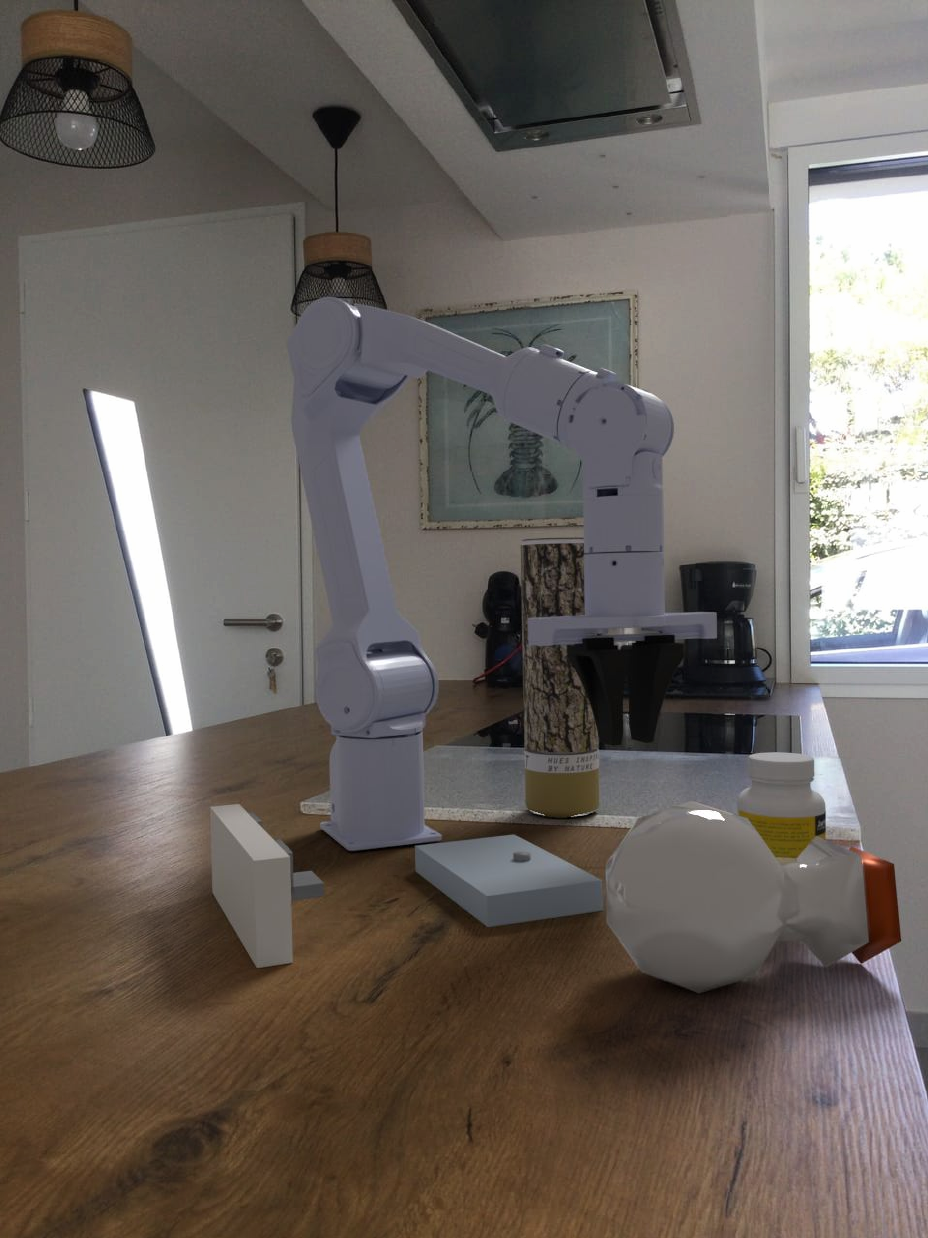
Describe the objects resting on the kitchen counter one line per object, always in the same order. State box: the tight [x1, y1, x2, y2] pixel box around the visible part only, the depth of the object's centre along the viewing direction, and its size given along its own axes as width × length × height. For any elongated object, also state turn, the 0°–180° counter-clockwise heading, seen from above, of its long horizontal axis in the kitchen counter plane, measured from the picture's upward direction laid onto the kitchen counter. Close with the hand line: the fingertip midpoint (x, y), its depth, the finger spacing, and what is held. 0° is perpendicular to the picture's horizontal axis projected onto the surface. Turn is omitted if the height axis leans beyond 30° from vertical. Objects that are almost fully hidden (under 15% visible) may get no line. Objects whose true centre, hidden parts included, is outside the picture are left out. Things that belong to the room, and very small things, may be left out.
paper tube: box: [520, 537, 600, 819], centre depth 97 cm, size 7×7×25 cm
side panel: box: [209, 803, 325, 969], centre depth 67 cm, size 16×4×6 cm, turn 22°
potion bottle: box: [605, 800, 902, 994], centre depth 56 cm, size 9×10×15 cm
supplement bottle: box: [736, 751, 827, 858], centre depth 67 cm, size 5×5×10 cm
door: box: [414, 834, 604, 928], centre depth 73 cm, size 14×8×3 cm, turn 21°
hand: (626, 742), depth 76 cm, fingers open, 2 cm apart
